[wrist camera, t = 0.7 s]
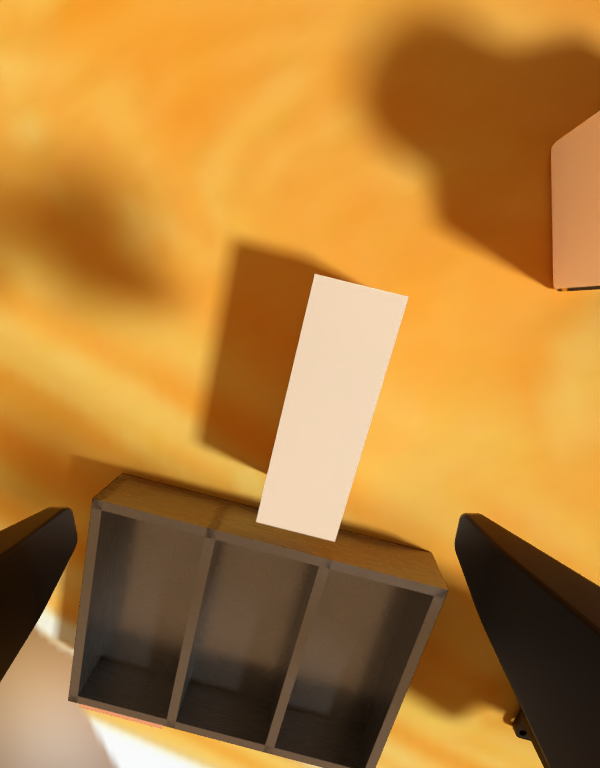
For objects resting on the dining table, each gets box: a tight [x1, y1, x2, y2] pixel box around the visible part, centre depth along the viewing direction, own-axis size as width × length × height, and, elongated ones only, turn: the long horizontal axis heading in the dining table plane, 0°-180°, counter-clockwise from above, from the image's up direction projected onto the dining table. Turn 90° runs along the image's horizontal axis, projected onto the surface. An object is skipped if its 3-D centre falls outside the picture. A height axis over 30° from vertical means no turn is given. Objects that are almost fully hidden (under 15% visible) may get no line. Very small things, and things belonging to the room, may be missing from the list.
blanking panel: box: [256, 274, 408, 542], centre depth 18 cm, size 4×12×5 cm, turn 167°
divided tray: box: [68, 473, 448, 768], centre depth 23 cm, size 20×16×3 cm
